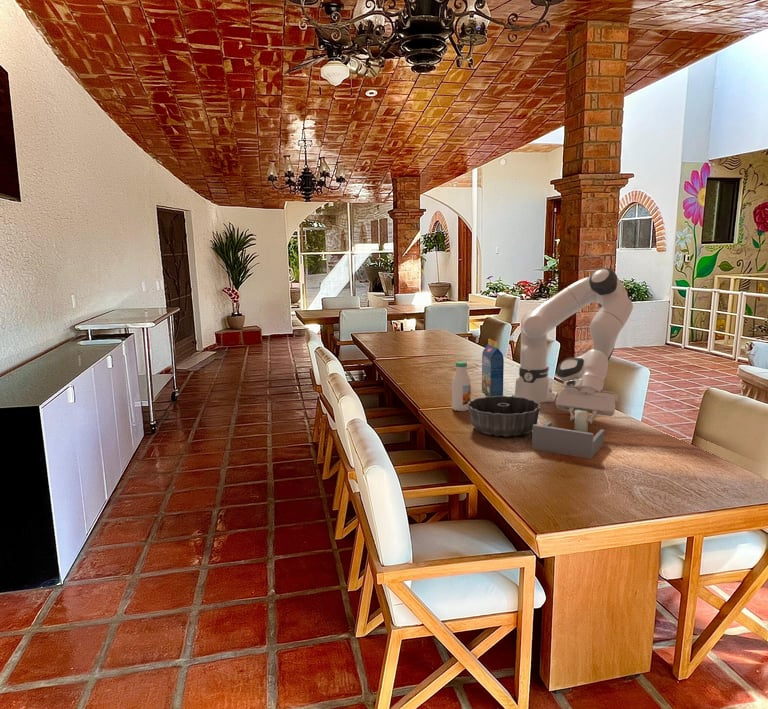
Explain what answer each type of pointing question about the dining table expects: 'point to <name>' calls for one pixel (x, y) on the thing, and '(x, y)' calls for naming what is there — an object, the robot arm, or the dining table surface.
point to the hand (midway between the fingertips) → (580, 421)
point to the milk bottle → (461, 388)
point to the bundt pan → (503, 415)
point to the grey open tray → (566, 441)
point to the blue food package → (492, 370)
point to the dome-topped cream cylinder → (581, 420)
